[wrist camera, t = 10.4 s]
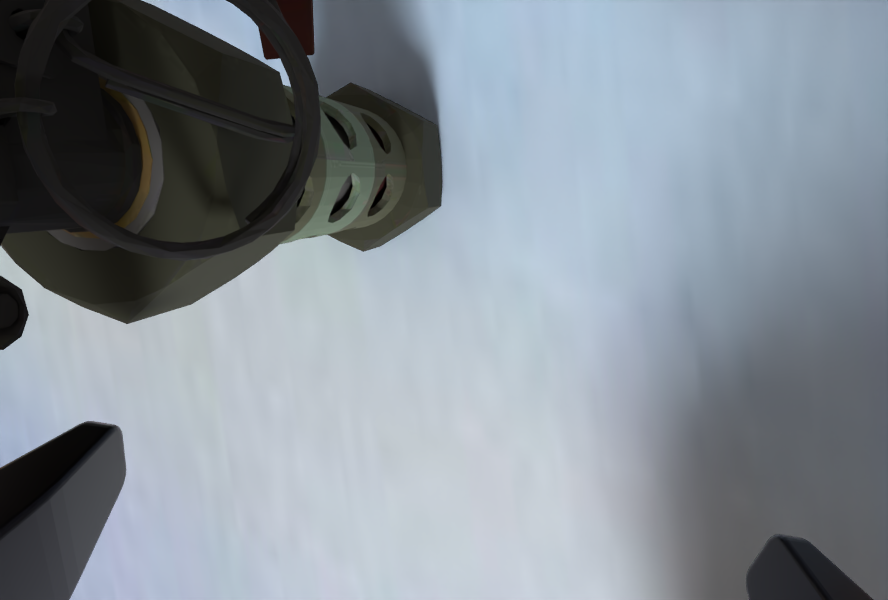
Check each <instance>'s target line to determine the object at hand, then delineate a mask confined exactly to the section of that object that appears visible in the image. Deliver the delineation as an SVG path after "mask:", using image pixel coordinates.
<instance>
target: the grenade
mask: <svg viewBox="0 0 888 600" xmlns="http://www.w3.org/2000/svg"><path fill="white" fill-rule="evenodd" d="M227 1H228V2H230V3H232V4H234V5H235V6H236V7H237V8H239V9H240V10H241V11H243V12H244V13H245V14H246V15H248V16H249V17H250V18H251V19H252V20H253V21H254V22H255V24H256V25H257V26H258V28H259V33H260V38H261V43H262V48H263V53H264V57H265V58H266V60H268V59H278V58H280V59H281V61H282V63H283V66H284V68H285V70H286V72H287V75H288V77H289V80H290V84H291V87H288V86H285V85H283V84H282V80H281V76H280V72H278V71H276V70H275V69H273V68H271V67H270V66H268V65H266V64H265V63H263V62H261V61H260V60H258V59H256V58H254V57H253V56H251V55H249V54H247V53H245V52H244V51H242V50H240V49H238V48H236V47H234V46H233V45H231V44H229V43H227V42H225V41H223V40H221V39H219V38H217V37H215V36H213V35H212V34H210V33H208V32H206V31H204V30H202V29H200V28H198V27H196V26H194V25H192V24H190V23H188V22H186V21H184V20H182V19H180V18H178V17H176V16H174V15H172V14H170V13H168V12H166V11H164V10H162V9H160V8H158V7H156V6H154V5H151V4H149V3H146V2H144V1H141V0H0V246H2V248H3V249H4V250H5V251H6V252H7V253H8V255H9V256H10V257H11V258H12V259H13V261H14V262H15V263H16V264H17V265H18V266H19V267H21V268H22V269H23V270H24V271H25V272H27V273H28V274H29V275H30V276H31V277H32V278H34V279H35V280H36V281H37V282H38V283H39V284H41V285H42V286H43V287H44V288H46V289H48V290H50V291H52V292H54V293H56V294H58V295H60V296H62V297H64V298H66V299H68V300H70V301H72V302H74V303H76V304H78V305H80V306H82V307H84V308H87V309H89V310H92V311H95V312H97V313H100V314H102V315H105V316H108V317H110V318H113V319H116V320H118V321H121V322H123V323H126V324H129V323H132V322H135V321H138V320H142V319H145V318H148V317H152V316H155V315H158V314H161V313H165V312H168V311H171V310H174V309H178V308H181V307H184V306H187V305H191V304H193V303H194V302H196V301H198V300H199V299H201V298H203V297H204V296H206V295H207V294H209V293H211V292H212V291H214V290H216V289H217V288H219V287H221V286H222V285H224V284H226V283H227V282H229V281H230V280H232V279H234V278H235V277H237V276H238V275H239V274H241V273H242V272H244V271H245V270H247V269H248V268H250V267H251V266H252V265H254V264H255V263H257V262H258V261H259V260H261V259H262V258H263V257H265V256H266V255H267V254H268V253H270V252H271V251H272V250H273V249H274V248H276V247H277V246H278V245H279V244H283V243H288V242H292V241H295V240H299V239H304V238H311V237H317V236H322V235H329V236H331V237H333V238H335V239H337V240H339V241H340V242H343V243H345V244H347V245H350V246H352V247H354V248H356V249H359V250H361V251H363V252H364V251H367V250H370V249H373V248H376V247H380V246H382V245H383V244H385V243H386V242H388V241H390V240H391V239H393V238H395V237H396V236H398V235H400V234H401V233H403V232H404V231H406V230H407V229H409V228H410V227H412V226H413V225H415V224H416V223H418V222H419V221H421V220H422V219H424V218H425V217H427V216H428V215H429V214H431V213H432V212H433V211H435V210H436V209H438V208H439V207H440V206H441V197H442V165H441V152H440V144H439V136H438V128H437V125H435V124H434V123H432V122H430V121H428V120H426V119H424V118H423V117H421V116H419V115H417V114H415V113H413V112H411V111H410V110H408V109H406V108H404V107H402V106H400V105H398V104H396V103H394V102H392V101H390V100H388V99H386V98H384V97H382V96H380V95H378V94H376V93H375V92H373V91H371V90H368V89H366V88H363V87H361V86H358V85H356V84H353V83H349V84H348V85H346V86H344V87H343V88H341V89H339V90H338V91H336V92H334V93H333V94H331V95H329V96H328V97H326V98H325V97H322V96H319V93H318V84H317V81H316V78H315V75H314V72H313V70H312V67H311V64H310V61H309V59H308V57H307V55H313V54H314V25H313V0H227ZM28 315H29V314H28V310H27V307H26V303H25V300H24V296H23V292H22V289H20V288H19V287H17V286H16V285H14V284H12V283H11V282H9V281H8V280H6V279H5V278H3V277H2V276H0V350H4V349H5V348H6V347H8V346H9V345H10V344H12V343H13V342H14V341H16V340H17V339H18V338H20V337H21V336H22V333H23V330H24V327H25V324H26V321H27V318H28Z"/></svg>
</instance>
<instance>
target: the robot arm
mask: <svg viewBox="0 0 888 600" xmlns="http://www.w3.org/2000/svg"><path fill="white" fill-rule="evenodd" d="M125 476H126V462H125V453H124V444H123V435H122V431H121V429H120V428H119V427H118V426H116V425H113V424H107V423H101V422H94V421H87V422H84V423H81V424H79V425H77V426H75V427H74V428H72V429H70V430H68V431H66V432H65V433H63V434H61V435H59V436H57V437H55V438H54V439H52V440H50V441H48V442H46V443H45V444H43V445H41V446H39V447H37V448H35V449H34V450H32V451H30V452H28V453H26V454H25V455H23V456H21V457H19V458H17V459H15V460H14V461H12V462H10V463H8V464H6V465H5V466H3V467H1V468H0V600H69V599H70V598H71V596H72V594H73V592H74V589H75V587H76V585H77V583H78V581H79V579H80V577H81V575H82V573H83V571H84V569H85V566H86V564H87V562H88V560H89V558H90V556H91V554H92V551H93V549H94V547H95V545H96V543H97V541H98V539H99V536H100V534H101V532H102V530H103V528H104V526H105V523H106V521H107V519H108V517H109V515H110V513H111V511H112V508H113V506H114V504H115V502H116V500H117V498H118V496H119V493H120V491H121V489H122V487H123V484H124V481H125ZM746 587H747V593H748V597H749V600H873V599H872V598H871V597H870V596H869V595H868V594H867V593H865V592H864V591H863V590H862V589H861V588H860V587H859V586H858V585H857V584H855V583H854V582H853V581H852V580H851V579H850V578H849V577H848V576H847V575H845V574H844V573H843V572H842V571H841V570H840V569H839V568H838V567H837V566H836V565H834V564H833V563H832V562H831V561H830V560H829V559H828V558H827V557H826V556H824V555H823V554H822V553H821V552H820V551H819V550H818V549H817V548H816V547H814V546H813V545H812V544H811V543H810V542H809V541H807V540H805V539H802V538H798V537H792V536H786V535H780V534H779V535H774V536H772V537H771V538H770V539H769V540H768V541H767V543H766V544H765V546H764V547H763V548H762V550H761V551H760V553H759V554H758V556H757V557H756V559H755V560H754V562H753V563H752V564H751V566H750V568H749V569H748V572H747V577H746Z"/></svg>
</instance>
